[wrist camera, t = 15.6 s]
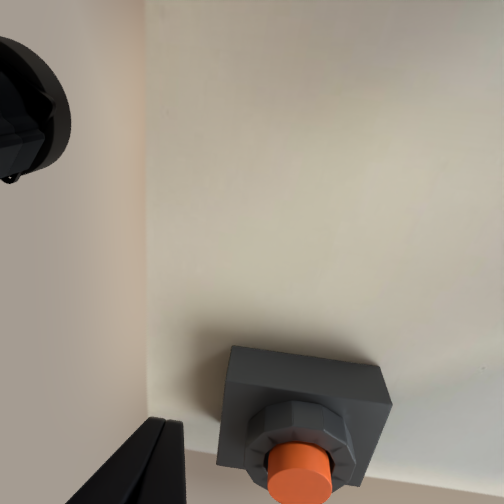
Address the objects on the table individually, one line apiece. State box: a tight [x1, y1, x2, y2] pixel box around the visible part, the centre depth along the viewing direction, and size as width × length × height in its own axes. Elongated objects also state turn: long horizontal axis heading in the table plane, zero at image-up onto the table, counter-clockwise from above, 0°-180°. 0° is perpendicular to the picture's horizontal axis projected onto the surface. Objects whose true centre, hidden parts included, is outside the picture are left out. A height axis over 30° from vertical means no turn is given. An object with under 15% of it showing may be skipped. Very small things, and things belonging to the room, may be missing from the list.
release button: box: [267, 440, 332, 504], centre depth 20 cm, size 4×4×2 cm
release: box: [216, 346, 392, 493], centre depth 23 cm, size 10×8×5 cm
